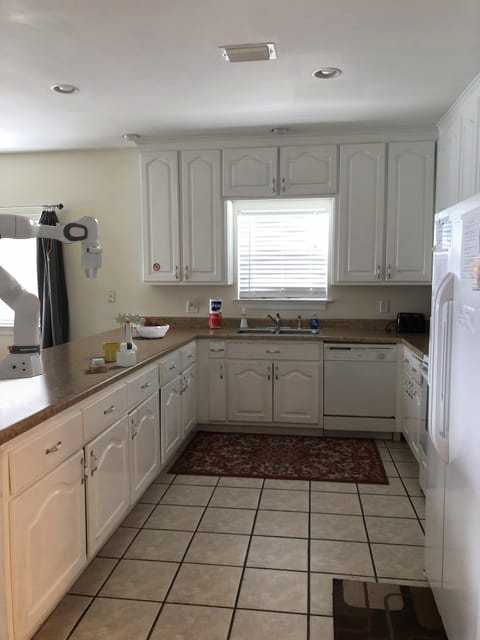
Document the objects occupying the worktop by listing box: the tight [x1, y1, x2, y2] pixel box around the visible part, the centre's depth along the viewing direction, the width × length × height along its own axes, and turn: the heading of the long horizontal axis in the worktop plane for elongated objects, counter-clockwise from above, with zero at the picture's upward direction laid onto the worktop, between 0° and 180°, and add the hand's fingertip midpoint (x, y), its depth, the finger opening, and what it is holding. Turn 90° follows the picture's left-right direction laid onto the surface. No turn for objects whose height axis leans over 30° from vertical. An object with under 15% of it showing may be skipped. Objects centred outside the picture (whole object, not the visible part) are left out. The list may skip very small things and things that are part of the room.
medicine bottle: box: [116, 342, 137, 368], centre depth 267 cm, size 7×7×12 cm
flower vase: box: [114, 312, 147, 352], centre depth 304 cm, size 13×18×25 cm
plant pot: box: [102, 341, 122, 362], centre depth 282 cm, size 10×10×10 cm
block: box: [88, 364, 108, 374], centre depth 250 cm, size 7×7×3 cm
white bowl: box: [135, 318, 170, 339], centre depth 387 cm, size 25×25×15 cm
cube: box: [91, 357, 106, 365], centre depth 257 cm, size 5×5×5 cm
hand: (91, 277), depth 254 cm, fingers open, 8 cm apart
